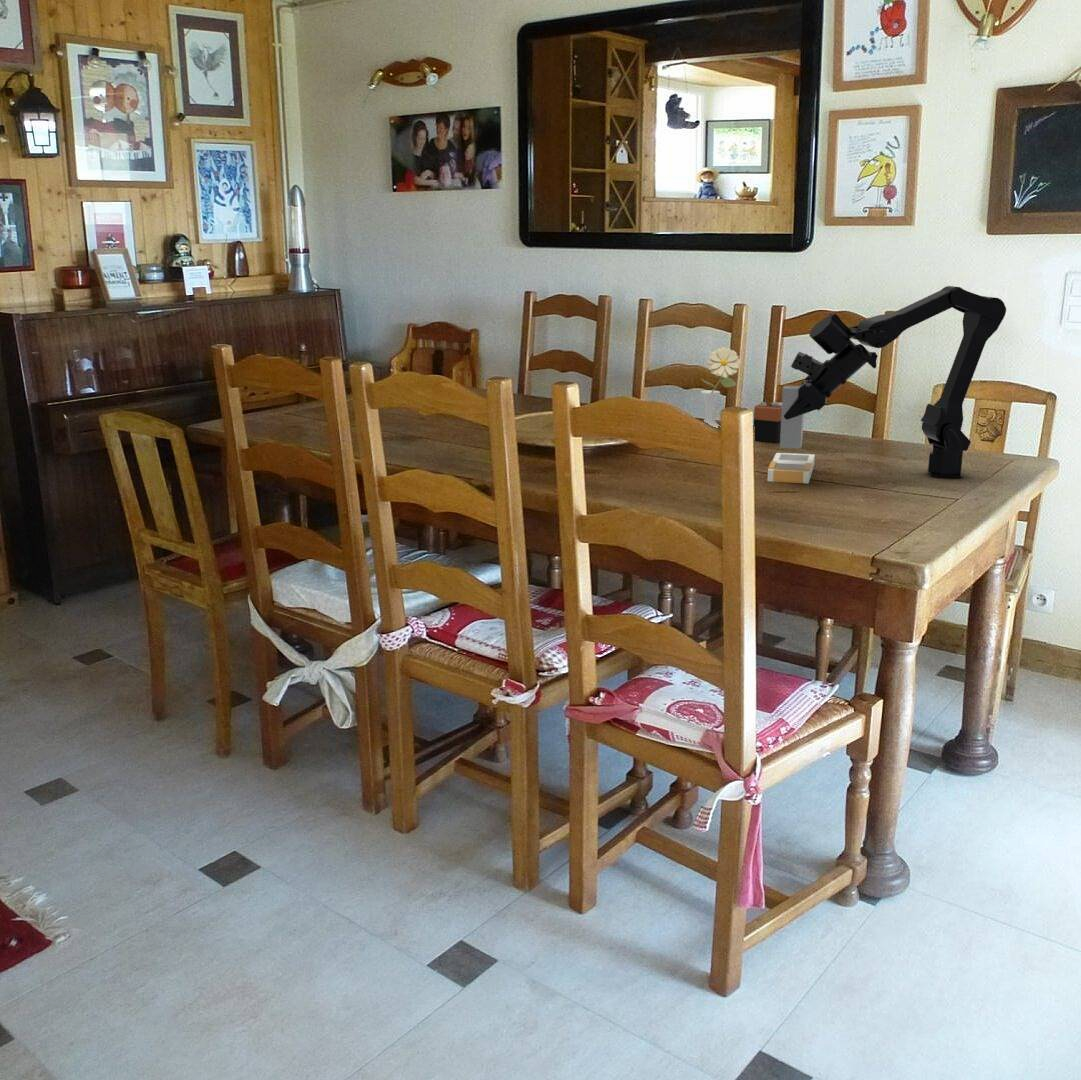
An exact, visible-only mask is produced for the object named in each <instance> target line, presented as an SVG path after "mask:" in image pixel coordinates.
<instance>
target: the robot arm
mask: <svg viewBox="0 0 1081 1080" xmlns="http://www.w3.org/2000/svg"><path fill="white" fill-rule="evenodd" d="M951 308H953V309H954V310H955V311H958V312H960V313H963V316H962V317H963V318H962V330H963V331H962V332H963V334H962V335H963V336H962V339H961V342H960V344H959V347H958V350H957V352H956V355H955V357H954V360H953V362H952V365H951V369H950V370H949V373H948V376H947V379H946V381H945V384H944V387H943V389H942V392H941V396H940V398H939V399H938V400H936V402H935V403H934V404H931V403H927V405H926V407H925V410H924V414H923V416H922V418H921V419H920V421H921V422H922V424H921V430H922V432H923V435H924V436H925V437H926V438H927V442H928V445H932V448H931V449H932V450H931V451H929V453H928V461H927V473H929V476H930V477H935V478H936V477H937V478H954V479H957V478H958V479H961V478H963V476H962V464H963V457H964V451H966V452H967V451H968V449H969V448H970V445H971V440H970V439H969V438H968V436H966V435H965V434H964V432H963V431H962V426H963V422H964V414H963V413H964V411H963V405H964V401H965V399H966V396H967V393H968V391H969V388H970V386H971V383H972V381H973V377H974V374H975V372H976V369H977V367H978V363H979V362H980V358H981V356H982V353H983V350H984V348H985V345H986V343H987V341H988V340H989V339H990V338H991V337H992V336H993V335H994V334H995V333H996V332H997V330H998V329H999V327H1000V325H1001V324H1002V322H1003V320H1004V318H1005V316H1006V313H1007V307H1006V305H1005V303H1004V301H1003V300H1002V299H1000V298H998V297H993V296H985V295H979V294H977V293H973V292H971V291H968V290H966V289H964V288H962V287H960V286H953V285H952V286H951V285H947V286H944V287H943V288H942V289H940V290H938V291H936V292H934V293H932V294H930V295H928V296H926V297H923V298H922V299H919V300H917V301H915V302H913V303H911V304H908V305H907V306H904V307H902V308H900V309H898V310H896V311H894V312H890V313H885V314H883V313H882V314H879V315H875V316H874V315H873V316H871V317H867V318H865V319H863V320H861V321H860V322H859V323H858V324H857V325H853V326H847V325H846V324H845V323H844V322H843V320H841V318H840V316H839V315H838V314H836V313H834V312H831V313H830V314H829V315H828V316H826V317H824V318H822V319H821V320H819V322H816V323H815V324H814V326H813V327H812V328H811V330H810V332H809V337H810V338H811V339H812V340H813V341H814V342H815V343H816V344H817V345H818V346H819V347H820V348H821V349H822V350H823V351H824V352H825V353H826V354H827V355H831V354H834V355H833V356H832V357H831V358H830V359H826V360H825V361H823V362H821V361H820V360H817V359H815V358H814V356H811V355H808V353H804V352H802V351H798V352H797V354H796V356H795V358H794V359H793V361H792V363H791V366H790V367H791V368H792V369H793V370H795V371H796V370H798V371H800V372H802V373H803V374H806V375H807V376H805V378H804V380H805V381H802V382H801V385H799V386H800V387H799V389H798V398H797V400H796V401H795V402H794V403H793V405H792V406H791V407H790V409H789V410H788V411H787V412H786V414H785V415H784V418H785V419H786V420H788V419H791V418H794V417H796V416H799V415H802V414H807V413H811V412H814V411H816V410H817V411H820V410H821V409H822V408H824V407H825V406H826V404H827V399H828V398H830V397H831V396H832V394H833V393H834V392H835V391H836V390H838V389H839V388H840V387H841V386H842V385H845V383H847V381H849V380H850V378H851V377H852V376H854V374H856V373H857V372H858V371H859V370H860V369H861V368H862V367H864V366H865V365H866V364H867V363H868V365H869V366H871V368H873V369H876V368H877V361H878V360H877V359H878V357H879V356H878V354H877V353H876V352H875V351H869V350H868V349H867V348H866V347H871V348H874V349H882V348H885V347H886V346H888V345H889V344H891V343H893V342H894V341H895V340H897V339H898V338H899V337H900V335H901V334H902V333H903V332H905V331H906V330H908V329H910V328H912V327H913V326H916V325H918V324H921V323H922V322H924V321H927V320H929V319H931V318H932V317H935V316H937V315H940V314H941V313H943V312H945V311H948V310H950V309H951ZM852 340H856V341H858V342H859V343H858V344H856V343H854V341H852ZM865 346H866V347H865Z"/></svg>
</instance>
